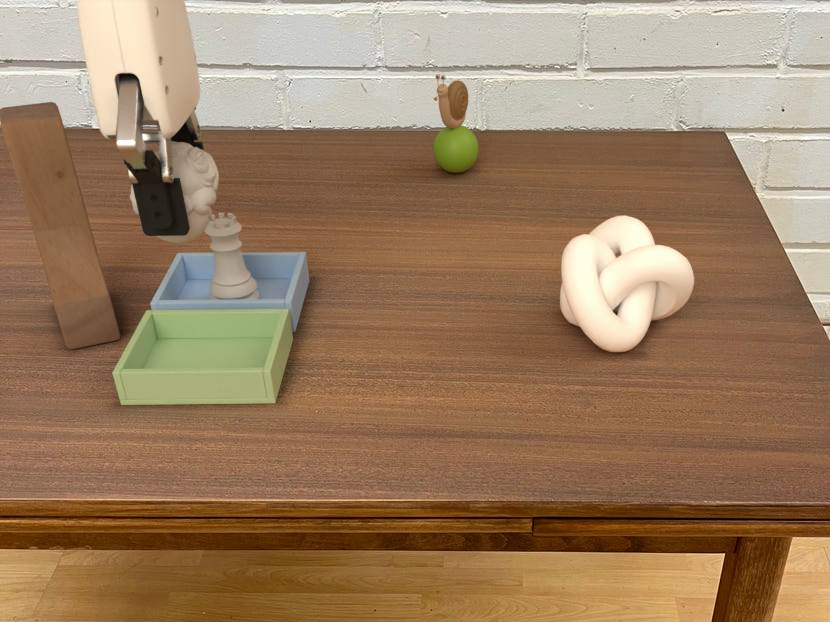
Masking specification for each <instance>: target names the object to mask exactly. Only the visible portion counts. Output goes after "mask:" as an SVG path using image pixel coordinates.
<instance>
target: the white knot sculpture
mask: <svg viewBox="0 0 830 622" xmlns="http://www.w3.org/2000/svg"><path fill="white" fill-rule="evenodd" d="M617 253H620V255H619V256H617V255H616V254H617ZM560 273H561V275H560V277H561V286H560V291H559V306H560V307H559V308H560V311H561V314H562V315H563V317H564V318H565V320H566V321H567V322H568V323H570V324H571V325H574V326H577V327H579V328H580V329H581V330H582V333H584V334H585V336H587V338H589V340H591V341H592V342H593V344H594V345H595V346H597V347H598V348H600V349H602V350H604V351H607V352H609V353H624V352H625V353H626V352H627V351H631V350H632V349H634V348H635V347H636V346H638V345H639V344H640V342H642V340H643V338H644V337H645V336H646V333H647V332H648V329H649V327H650V324H651V322H653V321H659V320H663V319H665V318H668V317H670V316H672V315H673V314H674V313H676V312H677V311H679V310H680V309H682V308H683V307H684V306H685V305H686V303H687V302H689V299H690V297H691V295H692V292H693V289H694V285H695V275H694V271H693V267H692V265H691V263H690V261H689V259H688V258H687V257H686V256H684V254H682V253H681V252H679V251H678V250H676V249H674V248H672V247H670V246H667V245H662V244H656V243H655V239H654V237H653V235H652V233H651V231H650V229H649V227H647V225H646V224H645V223H644V222H643V221H641V220H640V219H638V218H636V217H634V216H633V217H632V216H629V215H626V214H625V215H616V216H613V217H611V218H608V219H606V220H605V221H603V222H602V223H600V224H598V225H597V226H596V227H595V228H594V229H592V230H591V231H590V232H589V233H588V234H587V233H583V234H580V235H576V236H574V237H573V238H571V239H570V241H569V242H568V243H567V244H566V246H565V247H564V248H563V250H562V255H561V265H560ZM614 310H615V312H617V314H616V313H615V312H614Z"/></svg>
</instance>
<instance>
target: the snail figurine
mask: <svg viewBox="0 0 830 622" xmlns="http://www.w3.org/2000/svg"><path fill="white" fill-rule="evenodd" d="M434 77H435V79H436V80H437V83H439V80H440V79H441V80H442V83H441V84H437V89H436V94H437V96H438V109H439V114H440V118H441V121H442V124H443V125H444V127H443V128H442V129H441V130H439V132H437V135H436V136H435V138H434V141H433V143H432V152H433V156H434V160H435V161H436V163H437V164H438V166H439V167H440V168H442V170H445V171H446V172H449V173H451V174H452V173H453V174H459V173H464V172H466V171H467V170H469V169H471V168H472V167H473V166H474V164H475V163H476V162H477V159H478V156H479V150H480V148H479V142H478V139H477V137H476V135H475V134H474V132H473V131H472V130H471V129H469V128H468V127H466V126H464V125H463V124H464V122H465V120H466V117H467V116H466V115H467V110H468V106H469V90H468V88H467V85H466V84H465V83H464V81H462V80H458V79H457V80H454V81H452V82H451V83H450V84H449V85H448V86H447V84H445V83H444V82H445V80H446V75H445V74H439V73H437V74H435V76H434Z"/></svg>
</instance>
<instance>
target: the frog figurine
mask: <svg viewBox="0 0 830 622" xmlns="http://www.w3.org/2000/svg"><path fill="white" fill-rule="evenodd" d="M171 144H172V157H173V170H174V178H180V182H181V187H182V191H183V196H184V201H185V206H186V211H187V216H188V221H189V226H190V230H189V232H188V234H187V235H185V236H156V237H157V238H158V239H160V240H163V241H164V242H168V243H172V244H184V243H188V242H192V241H194V240H196V239H197V238H198V237H200V236H201V235H202V234H203V233H205V232H204V230H205V229H206V227H207V225H208V223H209V220H211V217H212V214H214V211H213V209H212V208H211V206H213V205H214V204H215V203H216V201H217V193H216V192H217V191H218V189H219V188H218V187H219V184H220V175H219V170H218V166H217V165H216V162H215V160H214V158H213V156H212V155H211V154H210V153H209V152H206V151H205V150H204V151H203V150H202V149H199V148H197V147H193V146H192V145H190V144H188V143H184V142H175V141H174V142H172V141H171ZM154 153H155V155H156V156H157V157H158V159H159V160H160V154H159V146H157V150H155V152H154ZM129 200H130V201H131V203H132V204H131V205H132V209H133V212H134V213H135V214H136V215H138V216H139V212H138V208H137V203H136V199H135V195H134V190H133V186H132V184H131V185H130V194H129Z"/></svg>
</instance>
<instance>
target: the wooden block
mask: <svg viewBox="0 0 830 622" xmlns="http://www.w3.org/2000/svg"><path fill="white" fill-rule="evenodd" d="M0 128H1V132H2V134H3V138H4V141H5V144H6V147H7V151H8V154H9V157H10V160H11V164H12V166H13V169H14V173H15V177H16V180H17V183H18V186H19V190H20V193H21V196H22V200H23V202H24V206H25V209H26V213H27V216H28V218H29V222H30V225H31V228H32V232H33V235H34V238H35V242H36V245H37V248H38V252H39V255H40V259H41V261H42V265H43V269H44V272H45V276H46V278H47V284H48V287H49V291H50V295H51V300H52V304H53V308H54V311H55V314H56V318H57V321H58V325H59V327H60V331H61V334H62V337H63V341H64V345H65V346H66V347H67V349H68V350H75V349H79V348H86V347H91V346H95V345H100V344H105V343H110V342H116V341H118V340H120V338H121V333H120V328H119V326H118V325H119V324H118V321H117V317H116V314H115V310H114V306H113V302H112V299H111V295H110V292H109V288H108V284H107V282H106V278H105V275H104V271H103V267H102V264H101V260H100V257H99V256H100V255H99V253H98V249H97V246H96V242H95V241H96V240H95V238H94V235H93V230H92V227H91V223H90V219H89V215H88V212H87V209H86V205H85V201H84V197H83V193H82V190H81V185H80V182H79V178H78V175H77V171H76V167H75V163H74V160H73V156H72V152H71V148H70V145H69V141H68V138H67V137H68V136H67V134H66V130H65V129H66V128H65V126H64V122H63V119H62V115H61V113H60V109H59V106H58V104H57V103H56V102H53V101H47V102H40V103H39V102H38V103H30V104H22V105H21V104H20V105H14V106H6V107H1V108H0Z"/></svg>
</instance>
